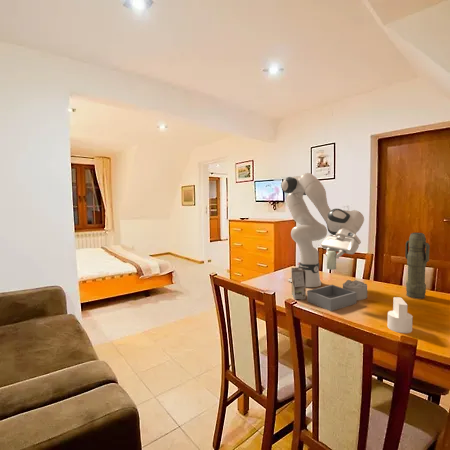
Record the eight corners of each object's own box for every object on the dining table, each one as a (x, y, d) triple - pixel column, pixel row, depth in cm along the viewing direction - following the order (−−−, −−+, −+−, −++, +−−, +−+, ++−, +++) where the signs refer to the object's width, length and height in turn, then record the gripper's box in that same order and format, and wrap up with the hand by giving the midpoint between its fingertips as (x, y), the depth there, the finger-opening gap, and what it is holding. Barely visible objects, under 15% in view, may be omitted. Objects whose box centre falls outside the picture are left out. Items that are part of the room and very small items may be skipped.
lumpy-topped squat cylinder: (369, 297, 159) (370, 282, 158) (352, 301, 154) (352, 286, 153) (354, 292, 168) (354, 277, 168) (337, 296, 163) (337, 281, 162)
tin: (324, 268, 153) (325, 251, 152) (331, 266, 155) (331, 250, 154) (331, 270, 149) (332, 252, 148) (338, 268, 151) (338, 251, 150)
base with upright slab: (385, 322, 128) (385, 296, 127) (408, 324, 125) (408, 297, 124) (390, 331, 119) (390, 303, 118) (415, 334, 117) (416, 305, 116)
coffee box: (306, 299, 159) (305, 271, 158) (294, 299, 160) (294, 271, 158) (302, 294, 168) (302, 267, 167) (291, 294, 169) (290, 267, 167)
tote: (307, 301, 156) (307, 290, 156) (332, 294, 165) (332, 284, 165) (330, 311, 142) (330, 299, 142) (356, 303, 151) (356, 292, 151)
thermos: (423, 300, 152) (426, 235, 148) (400, 294, 162) (401, 233, 158) (431, 297, 156) (434, 233, 153) (408, 291, 166) (410, 231, 163)
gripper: (326, 230, 163) (313, 249, 159) (358, 234, 145) (344, 256, 141) (332, 237, 165) (319, 256, 162) (363, 242, 147) (350, 264, 144)
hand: (331, 256), depth 151 cm, fingers closed on tin, 5 cm apart
